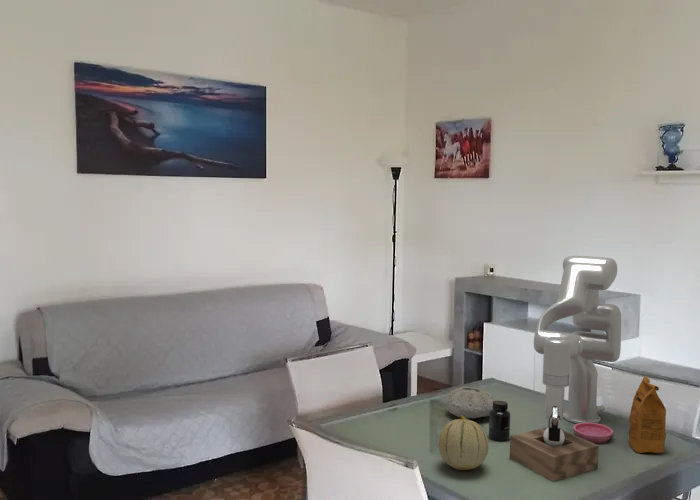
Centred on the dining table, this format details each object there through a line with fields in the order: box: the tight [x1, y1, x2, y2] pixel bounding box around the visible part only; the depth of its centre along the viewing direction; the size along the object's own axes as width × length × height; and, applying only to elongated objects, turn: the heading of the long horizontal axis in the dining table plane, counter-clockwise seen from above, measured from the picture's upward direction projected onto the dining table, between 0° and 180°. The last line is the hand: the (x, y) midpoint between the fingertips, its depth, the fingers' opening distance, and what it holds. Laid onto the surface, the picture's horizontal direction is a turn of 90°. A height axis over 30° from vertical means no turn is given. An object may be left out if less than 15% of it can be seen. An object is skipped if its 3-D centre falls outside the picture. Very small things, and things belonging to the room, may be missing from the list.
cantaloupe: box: [438, 415, 489, 471], centre depth 194 cm, size 15×15×15 cm
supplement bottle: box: [488, 400, 511, 442], centre depth 217 cm, size 7×7×12 cm
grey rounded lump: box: [445, 385, 496, 420], centre depth 238 cm, size 18×18×10 cm
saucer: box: [572, 422, 614, 444], centre depth 218 cm, size 12×12×3 cm
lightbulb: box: [543, 426, 565, 448], centre depth 198 cm, size 6×6×11 cm
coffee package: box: [628, 376, 667, 454], centre depth 209 cm, size 10×12×22 cm
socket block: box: [509, 426, 600, 482], centre depth 197 cm, size 18×18×7 cm
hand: (553, 434), depth 197 cm, fingers open, 9 cm apart
